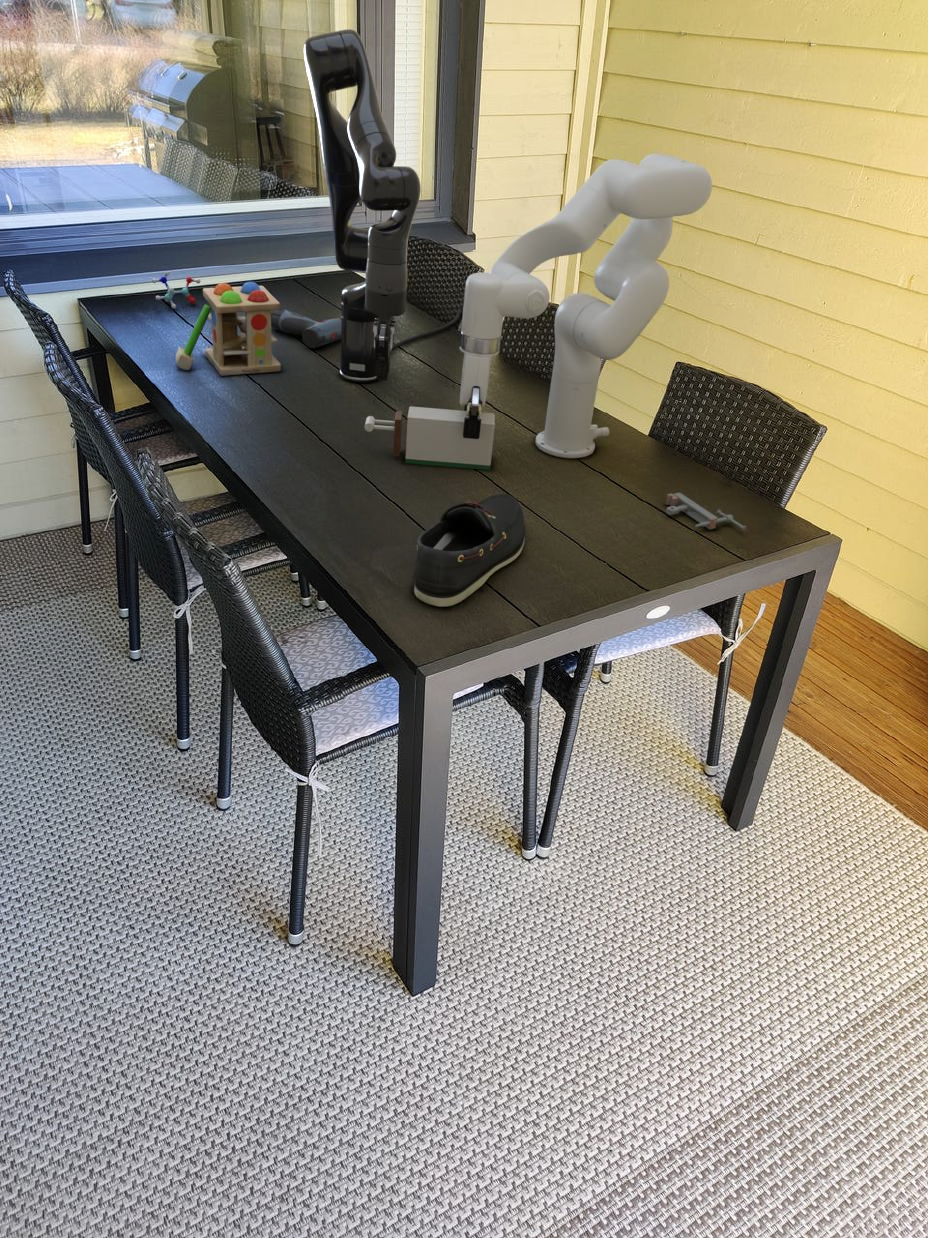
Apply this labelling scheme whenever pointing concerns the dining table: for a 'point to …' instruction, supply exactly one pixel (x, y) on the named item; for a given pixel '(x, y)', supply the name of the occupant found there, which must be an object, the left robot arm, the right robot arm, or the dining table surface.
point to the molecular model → (172, 292)
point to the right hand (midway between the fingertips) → (471, 427)
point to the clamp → (677, 506)
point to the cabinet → (447, 439)
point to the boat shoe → (467, 548)
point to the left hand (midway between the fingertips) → (382, 376)
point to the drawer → (397, 429)
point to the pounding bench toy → (229, 347)
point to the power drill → (307, 327)
